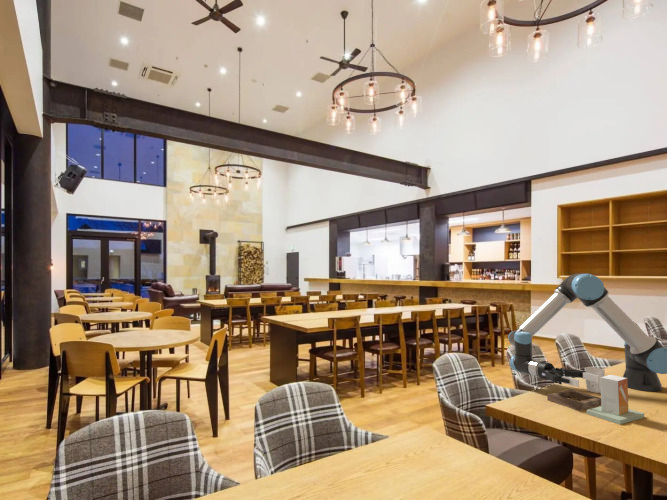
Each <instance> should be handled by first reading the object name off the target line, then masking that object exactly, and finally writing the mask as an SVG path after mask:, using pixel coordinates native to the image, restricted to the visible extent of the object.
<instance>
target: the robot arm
mask: <svg viewBox="0 0 667 500" xmlns="http://www.w3.org/2000/svg"><path fill="white" fill-rule="evenodd" d="M553 291H554V293H553V294H551V296H549V297H548V299H547V300H545V301H544V302H543V303H542V304H541V305H540V306H539V307H538V308H537V309H536V310H535V311H534V312H533V313H532V314H531V315H530V316H529V317H528V318H527V319H526V320H525V321H523V323H522V324H521V325H519V327H518V328H516V329H515V330H513V331H511V332H510V333H509V334H508V337H507V340H508V342H509V343H510V345H511V346H513V347H514V355H512V356H511V358H510V360H509V366H510V368H511V369H512V371H515V372H518V373H520V374H526V375H528V376H529V375H530V376H533V377H535V378H536V379H538V378H540V379H544V380H547V381H551V382H552V383H555V384H557V383H558V385H562V384H566V385H570V386H573V387H580V380H579V378H582V379H583V380H585V381H586V380H590V381H594V382H598V383H599V382H600V380H599V376H598V375H593V374H589V373H586V371H585V369H582V370H580V369H572V368H571V369H570V368H564V367H555V366H554V365H553V364H552V363H550V362H547V361H543V360H539V359H534V358H533V339H532V338H533V337H534V336H535V335H536V333H538V332H539V331H540V330H542V328H543V327H544V326H545V325H546V324H548V322H549V321H551V320H552V319H553V318H554V317H555V316H556V315H557V314H558V313H559V312H560V311H561V310H562V309H563V308H564V307H566V305H568V304H572V303H573V302H574V301H575V300H576V299H578V300H579V301H580V302H581V303H582V305H583V306H585V307H586V308H592V310H594V311H595V313H597V315H599V316H600V318H601V319H602V320H603V321H605V323H606V324H607V325H608V326H609V327H610V328H611V329H612V330H613V331H614V332H615V333H616V334H617V335H618V336H619V337H620V338H621V339H622V340H623V341H624V346H623V347H624V358H625V359H624V360H625V361H624V362H625V370H624V372H623V376H622V377H624V378H627V384H628V388H629V389H633V390H638V391H646V392H660V391H662V390H663V386H662V383H661V380H660V377H659V375H658V374H660V375H666V374H667V347H665V346H664V345H663V344H662V343H661V342H659V340H658V339H656V337H654V336H649V335H647V333H645V331H644V330H643V329H641V327H640V326H639V325H638V324H636V322H634V321H633V320H632V318H630V316H629V315H628V314H627V313H626V312H625V311H624V310H622V308H621V307H619V305H618V304H617V303H615V302H614V301H613V300H612V298H611V297H609V293H610V291H608V289H606V287H605V285H604V282H603V281H602V279H601V278H599V276H596V275H593V274H591V273H573V274H571V275H569V276H567V277H565V279H564V280H563V281H561V282H560V284H559V285H557V287H556V288H555V289H554V290H553ZM577 378H578V379H577Z"/></svg>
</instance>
